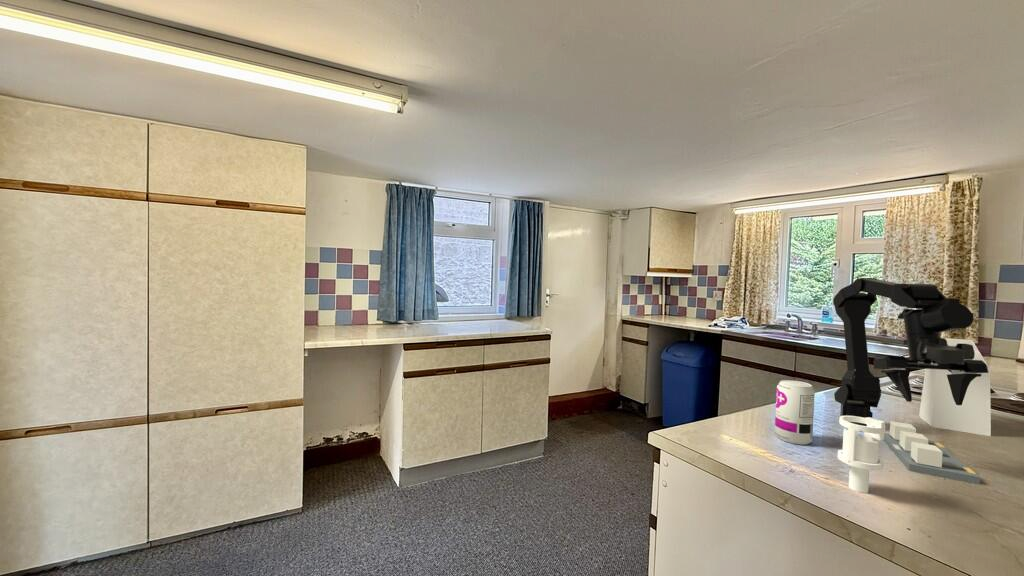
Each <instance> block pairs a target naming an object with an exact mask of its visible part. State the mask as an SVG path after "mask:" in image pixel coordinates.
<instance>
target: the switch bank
mask: <svg viewBox="0 0 1024 576" xmlns="http://www.w3.org/2000/svg"><path fill="white" fill-rule="evenodd" d="M882 441H883V442H884V444H885V445H888V446H887V447H888V449H890V451H891V452H892V453H893V452H894V453H893V454H894V455H895V456H896V457H897V458H898V460H899V461H900V462H901V463H902V465H904V467H905V468H906V469H907V470H908V471H910V472H915V473H920V474H924V475H925V474H926V475H930V476H936V477H940V478H945V479H946V478H947V479H951V480H955V481H961V482H967V483H971V484H972V483H973V484H976V485H980V483H981V482H980V481H981V480H980V479H981V476H979V475H978V474H977V473H976V472H975V471H973V470H972V469H971V468H969V467H968V466H967V465H966V464H965V463H963V462H962V461H961V460H960V459H959V458H958V457H956V456H955V455H954V454H953V453H952V452H950V451H949V449H947V448H946V447H945V446H944V445H942V444H941V443H940V442H938V441H936V440H929V439H928V445H934V446H936V447H937V448H939V449H940V450H941V451H942V452H943V453H942V468H941V467H935V466H930V465H924V464H919V463H916V462H915V461H914V459H913V458H912V457H911V451H906V450H904V449H903V448H902V447H901V446H900V445H899V444H900V440H896V439H894V438H893V437H892V436H891V435H890V433H886V432H885V433H884V440H882Z"/></svg>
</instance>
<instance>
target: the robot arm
mask: <svg viewBox="0 0 1024 576" xmlns="http://www.w3.org/2000/svg"><path fill="white" fill-rule="evenodd" d="M877 296H880V297H882V298H883V297H884V298H888V299H890V301H891V303H893V304H895V305H897V306H898V307H901V308H904V307H905V308H904V309H903V310H902V312H900V313H899V314H898V316H897V319H898V320H903V321H904V322H903V323H904V329H905V336H906V339H904V340H903V345H904V346H905V345H907V348H908V355H909V356H907V357H906V356H900V355H898V356H897V355H885V356H877V357H875V358H874V360H873V363H872V364H873V369H875V370H880V373H881V374H885V375H886V376H887V377H888V378H889V380H890V381H891V382H892V383H893V385H894V386H895V387H896V388H897V389H898V391H899V393H900V394H901V395H902V397H903V398H904V399H905V401H906V402H908V403H911V402H912V400H913V399H912V396H913V395H912V391H911V387H910V379H909V377H910V374H911V370H910V369H920V370H921V369H922V370H925V369H939V370H948V371H949V372H951V373H952V374H948V375H947V378H948V381H949V385H950V388H951V392H952V396H953V399H954V401H955V403H956V405H962V403H963V400H964V397H965V394H966V391H967V388H968V386H969V384H970V382H971V381H972V380H973V379H974V378H976V377H981V375H982V374H979V373H989V371H988V367H989V365H988V364H987V365H988V366H987V365H986V364H985V363H984V362H983V361H982V360H972V359H974V355H975V352H974V349H973V345H970V344H961V343H958V344H957V345H956V346H948V344H947V341H946V339H945V338H946V337H943V338H942V336H941V333H944V332H951V331H952V332H953V331H957V330H961V329H967V328H969V327H971V326H972V324H973V323H974V319H975V318H974V313H972V311H971V310H970V309H969V308H968V307H967V306H965V305H964V304H962V303H960V299H959V298H955V297H954V298H953V297H946V296H945V295H944V294H943V292H941V291H940V290H939V288H938V286H937V285H936V284H933V283H904V282H903V283H898V282H893V281H887V280H883V279H882V280H881V279H879V278H876V277H869V278H868V277H859V278H856V279H855V280H854V281H853V282H852V283H850V284H849V285H847V286H845V287H843V288H841V289H840V290H839V291H838V292H837V293H836V294H835V296H834V297H833V299H832V302H833V306H834V311H835V314H836V315H837V316H838V318H840V320H841V321H842V322H843V333H844V342H845V343H844V344H845V345H844V346H845V354H846V355H845V357H846V366H847V371H846V372H845V373H844V375H843V377H842V378H841V386H839V387H838V389H837V390H836V391H835V392H833V397H834V400H835V402H837V403H839V404H840V411H839V412H840V416H857V417H863V418H867V417H869V418H870V417H871V418H873V416H874V413H873V411H872V410H871V408H878V405H879V403H880V401H881V397H882V389H881V379H880V378H879V377H878V376H875V375H874V374H873V373H872V372H871V370H870V362H869V351H868V341H867V340H868V339H867V333H866V320H867V318H868V317H869V316H870V314H871V312H872V306H873V305H874V303H876V301H878V298H877ZM965 359H970V360H965ZM931 363H933V364H931ZM907 368H908V369H907ZM840 416H839V417H840ZM850 423H853V424H857V425H861V426H867V424H864V423H858V422H850Z"/></svg>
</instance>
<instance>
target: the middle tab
mask: <svg viewBox="0 0 1024 576" xmlns="http://www.w3.org/2000/svg"><path fill="white" fill-rule="evenodd" d="M928 440H929V439H928V438H927V437H926V436H925V435H923V434H922V433H917V432H916V433H911V432H905V431H900V444H899V445H900V446H901V447H902V448H903V449H904V450H906V451H911V442H916V443H922V444H928Z"/></svg>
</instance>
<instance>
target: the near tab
mask: <svg viewBox="0 0 1024 576" xmlns="http://www.w3.org/2000/svg"><path fill="white" fill-rule="evenodd" d="M942 453H943V452H942V451H941V450H940V449H939V448H937V447H936V446H934V445H928V444H922V443H916V442H911V457H912V458H913V459H914V461H915V462H916V463H919V464H924V465H930V466H935V467H941V468H942Z"/></svg>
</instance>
